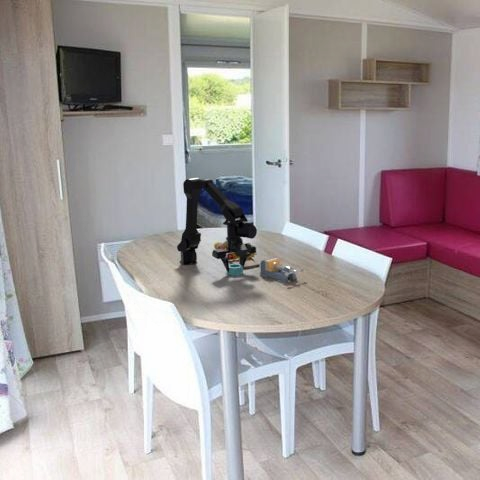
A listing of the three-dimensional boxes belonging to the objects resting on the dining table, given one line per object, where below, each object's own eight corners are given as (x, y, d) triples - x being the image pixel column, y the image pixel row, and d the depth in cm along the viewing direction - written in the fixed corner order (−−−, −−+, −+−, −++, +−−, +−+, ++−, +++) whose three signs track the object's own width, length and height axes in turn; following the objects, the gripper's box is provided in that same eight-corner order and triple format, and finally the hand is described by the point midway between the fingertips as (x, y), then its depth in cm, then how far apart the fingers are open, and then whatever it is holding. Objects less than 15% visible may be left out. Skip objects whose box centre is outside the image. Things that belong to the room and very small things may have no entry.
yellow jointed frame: (227, 249, 242) (213, 237, 270) (227, 262, 243) (213, 249, 272) (265, 245, 246) (248, 234, 275) (266, 258, 248) (248, 246, 276)
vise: (257, 275, 228) (256, 260, 226) (274, 270, 234) (274, 255, 233) (286, 285, 214) (286, 269, 213) (304, 279, 221) (304, 264, 219)
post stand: (235, 270, 235) (235, 259, 234) (223, 264, 245) (223, 253, 244) (259, 266, 240) (259, 255, 239) (246, 260, 251) (246, 249, 250)
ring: (231, 276, 227) (231, 268, 227) (225, 272, 233) (224, 265, 232) (245, 273, 230) (244, 266, 229) (238, 270, 236) (237, 263, 235)
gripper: (222, 242, 216) (223, 279, 220) (262, 236, 225) (263, 271, 229) (211, 237, 226) (212, 272, 230) (249, 231, 234) (250, 265, 238)
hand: (234, 270), depth 231 cm, fingers closed on ring, 6 cm apart
